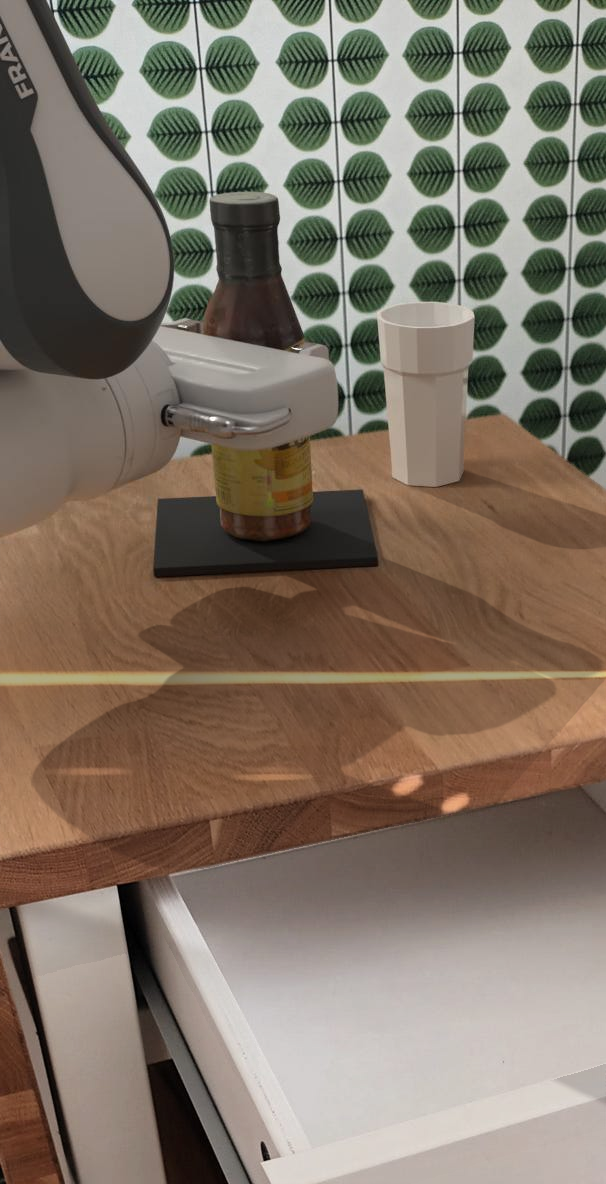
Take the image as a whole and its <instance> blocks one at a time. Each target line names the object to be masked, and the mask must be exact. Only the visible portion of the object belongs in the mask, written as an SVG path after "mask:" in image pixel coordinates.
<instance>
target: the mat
mask: <svg viewBox="0 0 606 1184" xmlns="http://www.w3.org/2000/svg"><path fill="white" fill-rule="evenodd" d="M154 534H155V536H154V550H153V561H152V562H153V564H152V571H153V572H152V573H153V577H154V578H160V577H161V578H163V577H178V576H181V577H182V576H198V575H218V574H238V573H241V574H242V573H257V572H260V573H261V572H276V571H280V572H281V571H298V570H316V569H319V570H320V569H334V568H335V569H339V568H354V567H355V568H357V567H358V568H359V567H374V566H375V567H377V566H379V556H378V552H377V547H376V543H375V539H374V534H373V528H372V524H371V521H370V515H369V511H368V507H367V503H366V499H365V493H364V490H363V489H343V490H341V489H340V490H321V491H320V490H319V491H318V490H317V491H313V502H312V504H311V521H310V525H309V527H308V528H307V529H306V530H305V531H303V532H301V533H299V534H297V535H294V536H291V537H287V538H283V539H275V540H270V541H256V540H247V539H240V538H236V537H234V536H233V535H230V534H228V533H227V532H225V530H224V528H223V527H222V526H221V520H220V507H219V506H218V504H217V501H216V495H211V496H209V495H208V496H192V497H191V496H188V497H185V496H184V497H168V498H167V497H165V498H163V497H162V498H158V499H157V505H156V520H155V533H154Z"/></svg>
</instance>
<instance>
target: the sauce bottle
mask: <svg viewBox="0 0 606 1184" xmlns="http://www.w3.org/2000/svg"><path fill="white" fill-rule="evenodd" d="M209 212H210V221H211V224H212V226H213V228H214V236H215V247H216V261H217V262H216V266H215V267H216V268H215V269H216V272H217V276H218V281H217V283H216V285H215V289H214V291H213V293H212V295H211V296H210V297H209V300H208V302H207V306H206V308H205V310H204V311H205V312H204V316H203V321H202V322H203V331H204V335H208V336H213V337H218V338H223V339H228V340H233V341H238V342H243V343H249V344H254V345H259V346H264V347H269V348H274V349H279V350H284V351H289V352H291V347H293V346H295V345H298V344H302V343H303V342H306V337H305V334H304V331H303V328H302V326H301V324H300V321H299V317H298V315H297V313H296V310H295V308H294V305H293V302H292V299H291V297H290V295H289V291H288V289H287V286H286V284H285V282H284V278H283V276H282V271H283V269H282V265H281V263H280V249H279V248H280V243H279V233H278V232H279V231H278V228H279V225H280V222H281V214H280V202H279V198H278V197H277V196H276V195H274V194H272V193H269V192H263V191H236V192H235V191H233V192H223V193H219V194H214V195H213V196H210V198H209ZM210 446H211V455H212V456H211V457H212V458H211V459H212V468H213V469H212V471H213V481H214V488H215V489H214V490H215V496H216V501H217V504H218V506H219V507H220V520H221V526H222V527H223V528H224V530H225V532H227V533H228V534H230V535H233V536H234V537H236V538H240V539H247V540H256V541H270V540H275V539H283V538H287V537H291V536H294V535H297V534H299V533H301V532H303V531H305V530H306V529H307V528H308V527H309V525H310V521H311V504H312V502H313V492H314V490H313V489H314V488H313V472H312V470H313V469H312V451H311V450H312V449H311V436H308V437H305V438H302V439H299V440H296V441H293V442H290V443H287V444H284V445H281V446H277V447H273V448H269V449H263V450H237V449H231V448H227V447H223V446H218V445H214V444H210Z"/></svg>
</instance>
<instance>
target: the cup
mask: <svg viewBox="0 0 606 1184" xmlns="http://www.w3.org/2000/svg"><path fill="white" fill-rule="evenodd" d="M475 317H476V316H475V314H474V311H473V310H471V309H470V308H468V307H467V306H464V305H459V304H455V303H449V302H440V301H413V302H403V303H396V304H393V305H389V306H386V307H383V308H382V309H380V310H378V311H376V319H377V331H378V333H377V334H378V345H379V356H380V364H381V366H382V369H383V379H384V389H385V390H384V391H385V402H386V403H385V405H386V413H387V415H386V416H387V426H388V437H389V449H390V460H391V461H390V463H391V477H392V478H393V479H395V480H397V481H399V482H400V483H402V484H405V485H406V486H412V487H413V486H414V487H429V488H437V487H441V486H446V485H449V484H453V483H457V482H460V481H461V478H462V476H463V474H464V472H465V441H466V422H467V404H468V403H467V402H468V386H469V385H468V384H469V383H468V382H469V366H470V365H471V364H472V363H473V360H474V339H475V338H474V337H475V319H476V318H475Z"/></svg>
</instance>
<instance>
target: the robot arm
mask: <svg viewBox="0 0 606 1184" xmlns="http://www.w3.org/2000/svg"><path fill="white" fill-rule="evenodd" d="M85 80H86V79H85V78H84V76H83V74H82V72H81V70H80V68H79V66H78V64H77V62H76V59H75V57H74V55H73V53H72V51H71V48H70V46H69V44H68V42H67V40H66V38H65V36H64V34H63V32H62V30H61V27H60V26H59V24H58V21H57V19H56V17H55V15H54V13H53V10H52V9H51V6H50V5H49V2H48V0H0V539H3V538H7V537H8V536H11V535H13V534H16V533H20V532H21V531H24V530H27V529H29V528H31V527H33V526H36V525H38V524H40V523H42V522H45V521H47V520H48V519H50V518H51V517H53V516H54V515H55V514H57V513H58V512H59V511H60V510H61V508H63V507H64V506H65V505H66V504H67V503H70V502H86V501H91V500H95V499H98V498H100V497H102V496H105V495H107V494H109V493H111V492H113V491H116V490H119V489H121V488H123V487H125V486H127V485H129V484H132V483H135V482H136V481H139V480H141V479H144V478H146V477H148V476H150V475H153V474H155V473H157V472H159V471H161V470H162V469H163V468H165V467H166V466H167V465H168V464H169V463H170V461H171V460H172V458H173V457H174V455H175V453H176V451H177V449H178V446H179V445H180V444H179V443H180V439H181V438H185V439H189V440H193V441H198V442H201V443H206V444H210V445H211V444H214V445H218V446H223V447H227V448H231V449H237V450H263V449H269V448H273V447H277V446H281V445H284V444H287V443H290V442H293V441H296V440H299V439H302V438H305V437H308V436H310V437H311V436H313V435H316V434H318V433H321V432H324V431H327V430H328V429H330V428H332V427H333V426H334V425H335V424H336V422H337V420H338V415H339V390H338V380H337V379H338V378H337V372H336V369H335V366H334V364H333V362H332V361H331V360H330V354H329V347H327V345H325V344H320V343H317V342H309V341H305V342H303V343H302V344H298V345H295V346H293V347H291V352H289V351H284V350H279V349H274V348H269V347H264V346H259V345H254V344H249V343H243V342H238V341H233V340H228V339H223V338H218V337H213V336H208V335H204V331H203V322H204V321H200V320H197V319H192V318H187V317H184V318H181V319H177V320H174V321H171V322H163V320H164V318H165V316H166V313H167V310H168V308H169V305H170V301H171V297H172V293H173V289H174V280H175V279H174V278H175V257H174V248H173V241H172V237H171V233H170V230H169V226H168V223H167V219H166V217H165V215H164V212H163V210H162V207H161V205H160V204H159V202H158V200H157V197H156V196H155V194H154V192H153V190H152V188H151V187H150V185H149V183H148V181H147V180H146V178H145V176H144V175H143V174H142V172H141V171H140V169H139V167H138V166H137V164H136V163H135V162H134V160H133V159H132V157H131V156H130V154H129V153H128V151H127V149H126V148H125V147H124V145H123V144H122V143H121V141H120V140H119V138H118V137H117V135H116V133H115V132H114V131H113V129H112V127H111V126H110V125H109V123H108V121H107V120H106V118H105V116H104V114H103V113H102V111H101V109H100V108H99V106H98V103H97V102H96V100H95V98H94V96H93V94H92V92H91V90H90V89H89V87H88V84H87V83H86V81H85Z"/></svg>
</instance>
